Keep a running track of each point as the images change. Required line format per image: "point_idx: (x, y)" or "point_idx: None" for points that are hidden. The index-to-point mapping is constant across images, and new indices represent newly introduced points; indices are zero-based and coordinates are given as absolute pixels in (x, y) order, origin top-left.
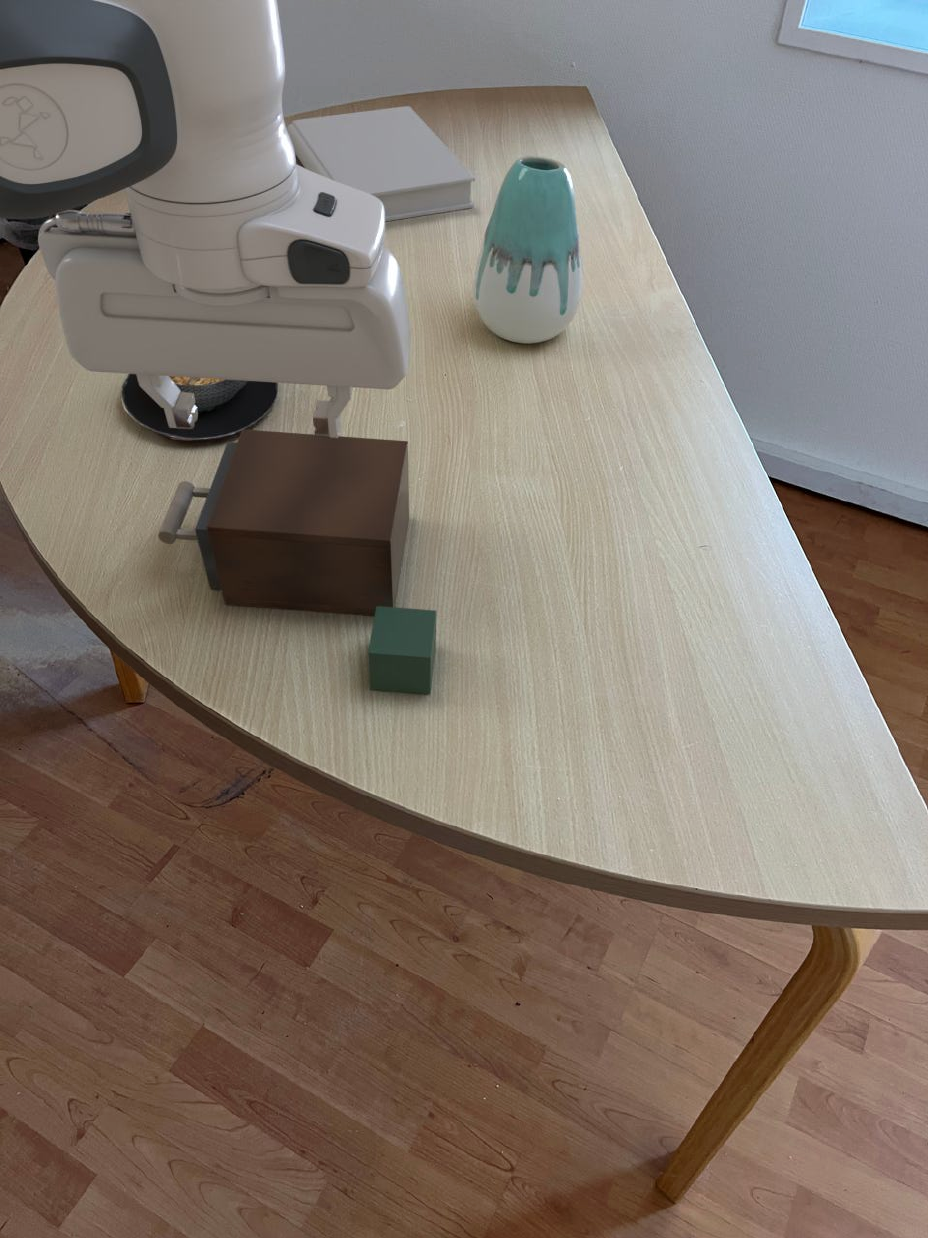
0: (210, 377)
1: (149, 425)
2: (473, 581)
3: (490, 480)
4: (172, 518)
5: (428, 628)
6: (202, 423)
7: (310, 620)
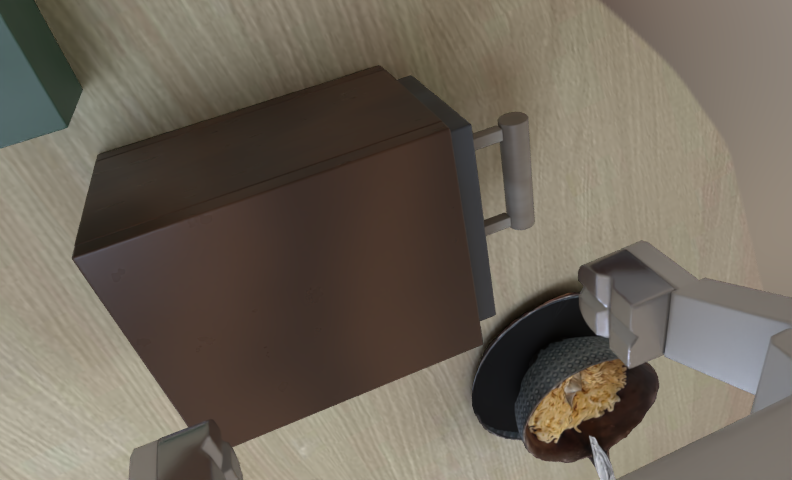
0: (643, 477)
1: None
2: (16, 279)
3: (127, 441)
4: (518, 153)
5: None
6: (541, 330)
7: (231, 90)
